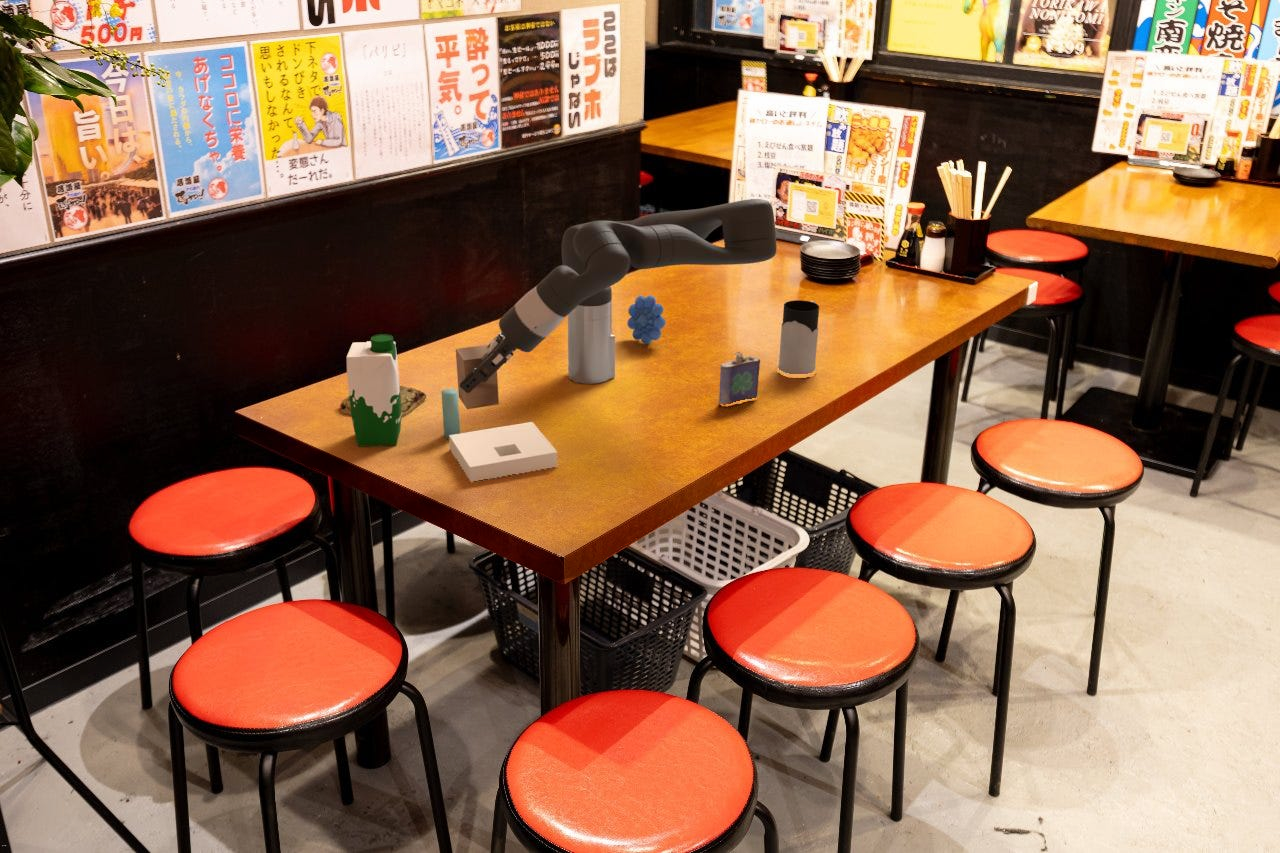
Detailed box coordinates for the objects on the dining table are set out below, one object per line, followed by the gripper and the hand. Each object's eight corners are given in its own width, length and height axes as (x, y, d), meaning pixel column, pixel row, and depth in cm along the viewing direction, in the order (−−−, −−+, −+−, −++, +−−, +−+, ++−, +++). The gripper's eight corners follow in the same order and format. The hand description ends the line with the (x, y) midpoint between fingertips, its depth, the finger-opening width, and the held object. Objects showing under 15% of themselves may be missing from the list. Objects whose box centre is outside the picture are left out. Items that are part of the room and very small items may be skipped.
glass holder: (770, 374, 243) (775, 308, 237) (791, 353, 255) (796, 290, 248) (809, 381, 240) (815, 314, 233) (829, 360, 251) (834, 295, 245)
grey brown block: (490, 392, 198) (487, 344, 194) (498, 404, 193) (496, 355, 189) (458, 397, 196) (455, 349, 192) (467, 409, 191) (463, 360, 187)
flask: (723, 409, 226) (725, 359, 221) (714, 403, 228) (717, 354, 224) (760, 400, 230) (763, 351, 226) (751, 395, 232) (754, 346, 228)
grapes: (676, 346, 258) (678, 296, 253) (656, 353, 253) (657, 302, 248) (641, 333, 265) (642, 284, 260) (620, 340, 261) (621, 290, 256)
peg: (457, 431, 214) (455, 387, 211) (462, 437, 212) (459, 393, 208) (442, 433, 213) (439, 389, 210) (446, 439, 211) (443, 395, 207)
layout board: (532, 436, 213) (532, 421, 211) (557, 467, 201) (557, 452, 200) (450, 449, 207) (449, 435, 206) (470, 482, 195) (470, 467, 194)
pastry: (332, 397, 229) (331, 384, 228) (416, 385, 236) (415, 372, 234) (347, 431, 215) (346, 416, 214) (436, 417, 221) (435, 403, 220)
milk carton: (400, 447, 208) (392, 346, 199) (351, 448, 207) (340, 347, 198) (405, 427, 215) (397, 329, 207) (358, 428, 215) (348, 330, 206)
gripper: (542, 349, 182) (475, 411, 188) (555, 319, 195) (493, 378, 200) (508, 317, 180) (442, 380, 186) (524, 289, 193) (462, 349, 199)
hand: (469, 379), depth 193 cm, fingers closed on grey brown block, 7 cm apart
